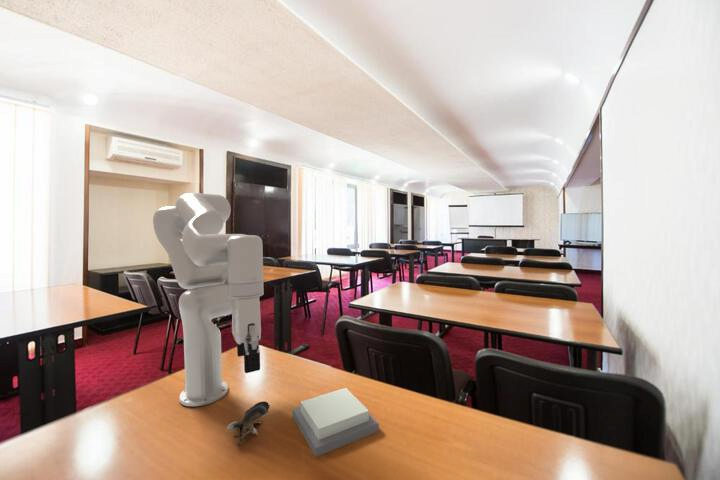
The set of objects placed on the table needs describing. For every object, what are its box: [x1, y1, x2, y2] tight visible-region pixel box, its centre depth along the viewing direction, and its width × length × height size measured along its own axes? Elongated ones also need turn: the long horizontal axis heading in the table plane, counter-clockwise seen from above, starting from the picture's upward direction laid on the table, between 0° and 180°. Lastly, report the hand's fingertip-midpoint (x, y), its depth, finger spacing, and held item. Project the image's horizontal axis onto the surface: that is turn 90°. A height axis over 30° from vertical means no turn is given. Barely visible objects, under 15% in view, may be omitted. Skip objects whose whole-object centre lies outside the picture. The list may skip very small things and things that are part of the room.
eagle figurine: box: [226, 401, 270, 446], centre depth 71 cm, size 8×7×9 cm
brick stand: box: [291, 387, 380, 458], centre depth 75 cm, size 16×16×5 cm
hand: (248, 362), depth 70 cm, fingers open, 9 cm apart
